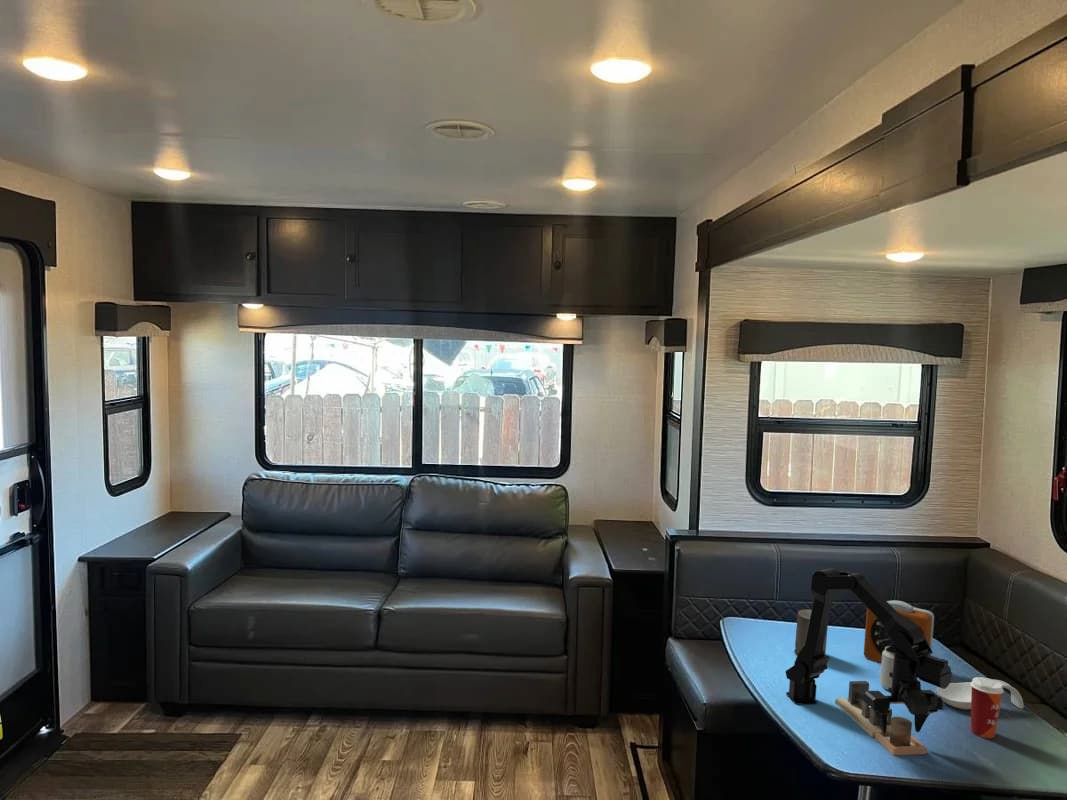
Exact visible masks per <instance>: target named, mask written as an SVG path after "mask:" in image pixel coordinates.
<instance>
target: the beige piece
mask: <svg viewBox="0 0 1067 800" xmlns="http://www.w3.org/2000/svg"><path fill="white" fill-rule="evenodd" d="M834 700H835V701H834V703H835V704H836V705H837V707H839V708H840V709H841V710H842V711H843V712H844V713H845V714H847V715H848V716H849V718H851V719H852V720H853V721H854V722H855V723H856V724H858V726H859V727H860V728H861V729H863V730H864V731H865V732H866V733H867V734H868V735H869V736H870V737H871V738H873V737H875V736H876V733H880V734H881V735H883V736H884V737H890V729H891V718H892V715H893V709H892V708H889V709H888V710H889V711H890V713H889V714H888V715H887V717H888V721H887V727H886V733H883V732H882V730H881V728H880V725H879V722H878V720H877V716H876V714H875V712H874V710H873V709H872V708H871V707H870V706H869V705H868V704H866V703H865V702H864V701H863V700H862V706H861V705H860V704H851V703H850V702H849V701H848V697H847V698H846V697H845V698H835V699H834ZM869 708H870V713H869Z"/></svg>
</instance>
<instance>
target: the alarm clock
mask: <svg viewBox="0 0 1067 800" xmlns="http://www.w3.org/2000/svg"><path fill="white" fill-rule="evenodd" d="M886 601H887V602H888V603H889V604H890V605H891V606H892V607H893V608H894V609H895V610H896V611H897V612H898V613H900V614H901V615H904V616H906V617H908V618H910V619H911V620H912V621H914V622H915V623H916V624H918V625H919V626H920V627H921V628H922V629H923V631H924V637H925V639H926V640H927V642H928V644H929V646H930V648H931V650H932V651H933V649H932V647H933V637H934V636H933V635H934V625H935V624H934V623H935V615H934V613H933V612H932V611H930V610H927V609H922V608H918V607H915V606H913V605H911V604H910V603H908V602H905V601H902V600H894V599H893V600H886ZM864 631H865V632H864V643H863V644H864V645H863V656H864V658H866V659H867V660H871V661H874V662H876V663H879V664H882V652H883V651H884V650H885V647H887V646H891V645H892V644H893V642H892V641H891V639H890V638H889V636H888V635H887V633H886V630H885V627H884V625H883V624H882V623H881V621H880V620H879V619H878V618H877V617H876V616H875V615H874V614H873V613H872V612H871V611H870V610H869V609H868V608H867V607H866V619H865V629H864ZM913 649H914V650H917V649H920V648H919V646H916V647H914V648H913ZM930 655H931V656H932V654H930Z"/></svg>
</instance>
